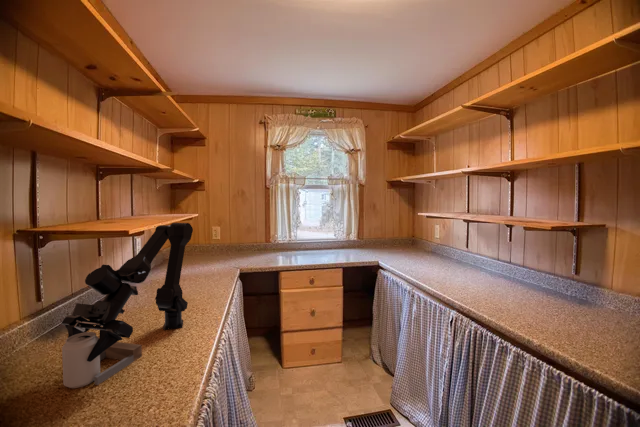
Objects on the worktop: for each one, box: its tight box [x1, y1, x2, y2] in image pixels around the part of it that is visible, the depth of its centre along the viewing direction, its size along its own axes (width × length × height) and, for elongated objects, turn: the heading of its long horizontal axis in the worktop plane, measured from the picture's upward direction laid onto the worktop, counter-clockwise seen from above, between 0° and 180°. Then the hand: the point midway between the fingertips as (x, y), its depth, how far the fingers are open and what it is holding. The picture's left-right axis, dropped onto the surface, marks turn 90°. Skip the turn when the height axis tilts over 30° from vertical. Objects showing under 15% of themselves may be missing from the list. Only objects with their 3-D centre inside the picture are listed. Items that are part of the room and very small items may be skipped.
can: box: [61, 331, 101, 389], centre depth 75 cm, size 8×8×12 cm
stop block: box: [105, 341, 143, 362], centre depth 87 cm, size 3×11×4 cm, turn 78°
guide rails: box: [93, 351, 135, 386], centre depth 80 cm, size 11×11×2 cm
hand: (76, 359), depth 74 cm, fingers closed on can, 7 cm apart
